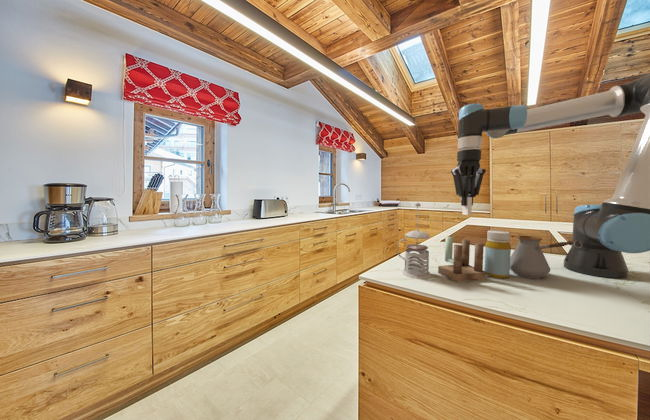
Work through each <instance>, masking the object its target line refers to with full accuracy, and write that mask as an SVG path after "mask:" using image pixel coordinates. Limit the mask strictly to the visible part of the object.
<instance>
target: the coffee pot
mask: <svg viewBox="0 0 650 420" xmlns="http://www.w3.org/2000/svg"><path fill="white" fill-rule="evenodd" d="M516 238H518V241H519V242H518V243H517V246H516V247H515V249H514V250H513V252H512V253H511V255H510V271H511V272H512V273H513V274H514V275H516V276H519V277H522V278H527V279H528V278H529V279H541V278H543V277H545V276H547V275H549V273H550V271H551V267H550V265H549V263H548V261H547V258H546V256H545V254H544V252H543V251H542V250H543V249H549V248H550V249H551V248H561V247H562V248H563V247H565V246H572V244H574V246H575V244H576V243H578V242H579V241H576V240H575V241H572V240H567V241H561V242H557V243H556V242H555V243H551V244H548V245H542V246H541V245H540V243H541V241H542V240H543V238H542V237H539V236H534V235H533V236H532V235H518V236H517V237H516ZM579 243H581V242H579ZM575 247H576V246H575ZM581 247H582V243H581ZM581 247H577V248H581Z"/></svg>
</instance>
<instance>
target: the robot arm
mask: <svg viewBox="0 0 650 420" xmlns="http://www.w3.org/2000/svg"><path fill="white" fill-rule="evenodd" d="M639 113H643V114H644V115H645V116H644V118H643V121H642V123H641V126H640V128H639V130H638V134H637V136H636V138H635V142H634V143H633V145H632V149H631V151H630V154H628V155H629V156H628V158H627V161H626V164H625V166H624V169H623V171H622V174H621V176H620V178H619V181H618V183H617V185H616V187H615V191H614V194H613V195H612V197H610V198H608V199H605V200H603V201H602V203H601V204H581V205H577V206H575V208H574V213H573V214H572V215H573V221H572V224H573V225H572V238H571V241H575V240H576V241H579V242H581V243H582V247H581V243H579V242H578V243H576V244H575V246H576V247H575V246H574V244H572V245H571V247H570V248H569V250H568V252H567V254H566V256H565V257H564V259H563V267H564V268H565V269H568V270H570V271H573V272H576V273H580V274H583V275H589V276H595V277H601V278H614V279H621V278H623V279H624V278H627V277H628V276H629V268H628V266H627V263H626V261H625V260H626V259H625V257H624V255H623V253H625V254H642V253H647V252H649V251H650V72H649V73H647V74H644V75H643V76H641V77H639V78H637V79H634V80H632V81H629V82H626V83H623V84H618V85H615V86H612V87H611V88H610V89H609V90H608V91H603V92H599V93H598V92H597V93H593V94H589V95H586V96H581V97H577V98H571V99H568V100H563V101H560V102H559V101H558V102H555V103H550V104H546V105H541V106H537V107H533V108H529V109H528V108H527V106H526V105H525V104H518V105H514V104H512V105H509V106H502V107H494V108H488V109H487V108H485V107H484V105H483V104H482V103H479V102H478V103H470V104H466V105H464V106H462V107H460V108H459V111H458V122H457V123H458V124H457V126H458V127H457V129H458V130H457V131H458V132H457V150H458V151H457V154H456V155H457V156H456V157H457V158H456V159H457V160H456V161H457V162H458V163H457V164H456V167H455V168H453V169H451V170H450V173H451V175H452V177H453V182H454V183H453V184H454V189H455V194H456V196H459V197H460V198H461V200H460V203H461V206H462V210H461V211H462V213H461V214H462V216H463V215H464V216H472V207H473V205H474V198H476V197H477V196H478V195H479V194H480V190H481V188H482V187H481V186H482V182H483V179H484V175H485V173H486V172H487V170H486V169H485V168H482V167H481V164H480V161H481V160H482V150H481V149H482V147H483V145H482V144H483V133H486V135H487V136H488V137H489V138H492V139H498V138H502V137H505V136H509V135H514V134H518V133H523V132H528V131H533V130H538V129H543V128H548V127H552V126H553V127H554V126H558V125H565V124H568V123H573V122H578V121H584V120H590V119H595V118H598V117H604V116H610V117H612V118H617V117H620V116H627V115H633V114H639ZM577 247H581V248H577Z"/></svg>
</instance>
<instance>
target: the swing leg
mask: <svg viewBox="0 0 650 420" xmlns="http://www.w3.org/2000/svg"><path fill="white" fill-rule="evenodd" d="M453 240H454V237H453V236H445V242H444V243H445V244H444V245H445V247H444V248H445V249H444V261H445V262H446V263H449V264H451V265H453V263H454V258H453V250H454V245H453V244H454V241H453Z"/></svg>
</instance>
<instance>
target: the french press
mask: <svg viewBox="0 0 650 420" xmlns="http://www.w3.org/2000/svg"><path fill="white" fill-rule="evenodd" d="M414 207H416V230H411V231H408V232H407V233H405V234H404V236H405V237H406V238H405V237H403V238H401V239H400V240H398V242H397V244H396V245H397V246H396V250H397V251H396V254H397V255H398V257H399V258H401V259H403V260H404V269H403V270H402V271H401V273H403V274H402V275H404V276H405V277H408V278H411V279H416V280H419V279H420V280H424V279H429V278H432V274H431V272H430V271H429V268H430V267H429V266H430V265H429V263H430V262H429V260H430V252H429V250H428V248H429V247H428V246H427V245H425V244H418V243H414V244H413V243H411V244H406V246H405V247H406V249H405V254H404V256H405V257H404V256H402V255H401V254H400V252H399V244H400V243H401V242H402V241H404V243H407V238H409V239H416V240H418V239H419V240H422V239H424V240H426V239H429V238H430V237H431V235H430V234H428V232H425V231H422V230H418V227H419V223H418V220H419V219H418V217H419V207H421V203H420V202H416V203H414ZM416 252H417V253H416Z"/></svg>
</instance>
